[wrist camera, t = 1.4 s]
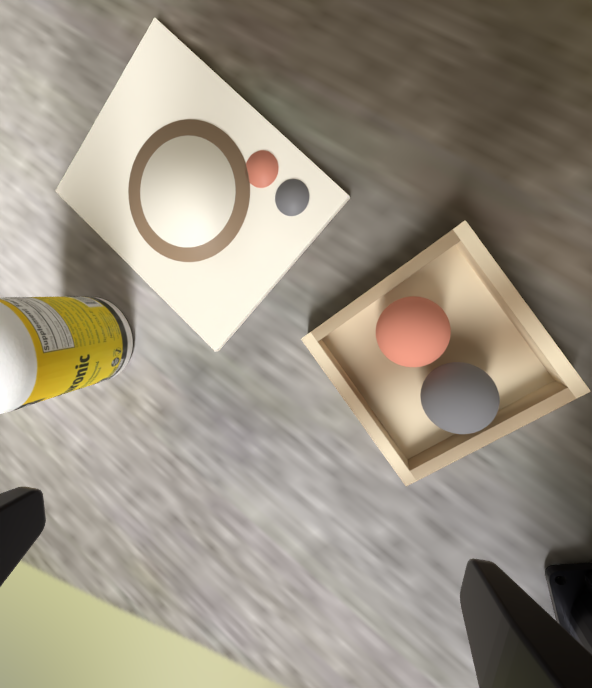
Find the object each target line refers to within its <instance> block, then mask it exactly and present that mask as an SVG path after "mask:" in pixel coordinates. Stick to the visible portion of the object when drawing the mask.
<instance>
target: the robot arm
mask: <svg viewBox="0 0 592 688" xmlns="http://www.w3.org/2000/svg"><path fill="white" fill-rule="evenodd" d="M45 522H46V517H45V508H44V499H43V493H42V492H41V490H39V489H36V488H30V487H18V488H15V489H12V490H9V491H6V492H4V493H1V494H0V586H1V585H2V584H3V582H4V581H5V580H6V579H7V577H8V576H9V575H10V573H11V572H12V571H13V569H14V568H15V567H16V565H17V564H18V563H19V562H20V560H21V559H22V558H23V556H24V555H25V554H26V552H27V551H28V550H29V548H30V547H31V546H32V544H33V543H34V542H35V541H36V539H37V538H38V537H39V535H40V534H41V532H42V531H43V529H44V526H45ZM545 576H546V580H547V584H548V588H549V592H550V596H551V600H552V604H553V608H554V612H555V616H556V620H557V621H556V620H554V619H553V618H552V617H551V616H550V615H549V614H548V613H547V612H546V611H545V610H544V609H543V608H542V607H541V606H540V605H539V604H537V603H536V602H535V601H534V600H533V599H532V598H531V597H530V596H529V595H528V594H527V593H526V592H525V591H524V590H523V589H521V588H520V587H519V586H518V585H517V584H516V583H515V582H514V581H513V580H512V579H511V578H510V577H509V576H508V575H507V574H505V573H504V572H503V571H502V570H501V569H500V568H499V567H498V566H497V565H496V564H494V563H493V562H490V561H486V560H480V559H470V560H469V561H468V563H467V566H466V570H465V574H464V578H463V582H462V587H461V591H460V603H461V609H462V613H463V617H464V622H465V626H466V631H467V635H468V640H469V644H470V648H471V653H472V657H473V662H474V666H475V671H476V675H477V679H478V684H479V688H592V563H577V564H562V565H552V566H549V567H548V568H547V569H546V571H545ZM557 576H562V577H561V578H558V579H556V577H557Z"/></svg>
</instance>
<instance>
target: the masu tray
mask: <svg viewBox="0 0 592 688" xmlns="http://www.w3.org/2000/svg"><path fill="white" fill-rule="evenodd" d="M411 296H418V297H423V298H426V299H429V300H431V301H433V302H435V303H436V304H437V305H439V306H440V307H441V308H442V309H443V310H444V312H445V313H446V315H447V317H448V319H449V322H450V327H451V335H450V340H449V344H448V346H447V348H446V350H445V351H444V352H443V354H442V355H441V356H440V357H439V358H438V359H436V360H435V361H434V362H432V363H430V364H428V365H425V366H421V367H405V366H401V365H398V364H396V363H394V362H392V361H391V360H389V359H388V358H387V357H386V356H385V355H384V354H383V353H382V351H381V350H380V348H379V346H378V343H377V340H376V325H377V321H378V319H379V317H380V315H381V313H382V312H383V311H384V309H385V308H386V307H387V306H388V305H390V304H391V303H393V302H394V301H396V300H398V299H401V298H404V297H411ZM301 340H302V341H303V342H304V344H305V345H306V347H307V348H308V349H309V351H310V352H311V354H312V355H313V356H314V358H315V359H316V361H317V362H318V363H319V365H320V366H321V368H322V369H323V371H324V372H325V373H326V375H327V376H328V378H329V379H330V380H331V382H332V383H333V385H334V386H335V387H336V389H337V390H338V392H339V393H340V394H341V396H342V397H343V399H344V400H345V401H346V403H347V404H348V406H349V407H350V408H351V410H352V411H353V413H354V414H355V415H356V417H357V418H358V420H359V421H360V422H361V424H362V425H363V427H364V428H365V429H366V431H367V432H368V434H369V435H370V436H371V438H372V439H373V441H374V442H375V444H376V445H377V446H378V448H379V449H380V451H381V452H382V453H383V455H384V456H385V458H386V459H387V460H388V462H389V463H390V465H391V466H392V467H393V469H394V470H395V472H396V473H397V474H398V476H399V477H400V479H401V480H402V481H403V483H404V484H405V486H408V485H410V484H412V483H414V482H416V481H418V480H420V479H422V478H424V477H426V476H428V475H429V474H431V473H433V472H435V471H437V470H439V469H441V468H443V467H445V466H447V465H449V464H451V463H453V462H455V461H457V460H459V459H461V458H462V457H464V456H466V455H468V454H470V453H472V452H474V451H476V450H478V449H480V448H482V447H484V446H486V445H488V444H490V443H492V442H494V441H495V440H497V439H499V438H501V437H503V436H505V435H507V434H509V433H511V432H513V431H515V430H517V429H519V428H521V427H523V426H525V425H527V424H529V423H530V422H532V421H534V420H536V419H538V418H540V417H542V416H544V415H546V414H548V413H550V412H552V411H554V410H556V409H558V408H560V407H562V406H563V405H565V404H567V403H569V402H571V401H573V400H575V399H577V398H579V397H581V396H583V395H585V394H587V393H589V392H591V391H590V390H589V388H588V387H587V386H586V384H585V383H584V382H583V380H582V379H581V377H580V376H579V375H578V373H577V372H576V371H575V369H574V368H573V367H572V365H571V364H570V362H569V361H568V360H567V358H566V357H565V356H564V354H563V353H562V352H561V350H560V349H559V347H558V346H557V345H556V343H555V342H554V341H553V339H552V338H551V336H550V335H549V334H548V332H547V331H546V330H545V328H544V327H543V326H542V324H541V323H540V321H539V320H538V319H537V317H536V316H535V315H534V313H533V312H532V311H531V309H530V308H529V306H528V305H527V304H526V302H525V301H524V300H523V298H522V297H521V296H520V294H519V293H518V291H517V290H516V289H515V287H514V286H513V285H512V283H511V282H510V280H509V279H508V278H507V276H506V275H505V274H504V272H503V271H502V270H501V268H500V267H499V265H498V264H497V263H496V261H495V260H494V259H493V257H492V256H491V255H490V253H489V252H488V250H487V249H486V248H485V246H484V245H483V244H482V242H481V241H480V239H479V238H478V237H477V235H476V234H475V233H474V231H473V230H472V229H471V227H470V226H469V224H468V223H467V222H466V220H465V221H464V222H462V223H461V224H459V225H458V226H457V227H455V228H454V229H453V230H451V231H450V232H448V233H447V234H446V235H444V236H443V237H441V238H440V239H439V240H437V241H436V242H435V243H433V244H432V245H430V246H429V247H428V248H426V249H425V250H423V251H422V252H421V253H419V254H418V255H417V256H415V257H414V258H412V259H411V260H410V261H408V262H407V263H405V264H404V265H403V266H401V267H400V268H399V269H397V270H396V271H394V272H393V273H392V274H390V275H389V276H387V277H386V278H385V279H383V280H382V281H381V282H379V283H378V284H376V285H375V286H374V287H372V288H371V289H369V290H368V291H367V292H365V293H364V294H363V295H361V296H360V297H358V298H357V299H356V300H354V301H353V302H351V303H350V304H349V305H347V306H346V307H345V308H343V309H342V310H340V311H339V312H338V313H336V314H335V315H333V316H332V317H331V318H329V319H328V320H327V321H325V322H324V323H322V324H321V325H320V326H318V327H317V328H315V329H314V330H313V331H311V332H310V333H309V334H307V335H306V336H304V337H303V338H302V339H301ZM451 362H464V363H469V364H472V365H474V366H476V367H479V368H480V369H482V370H483V371H485V372H486V373H487V374H488V375H489V376H490V377H491V378H492V380H493V381H494V382H495V384H496V386H497V389H498V392H499V397H500V403H499V409H498V412H497V414H496V416H495V418H494V420H493V421H492V422H491V423H490V424H489V425H488V426H487V427H485V428H484V429H482V430H480V431H478V432H475V433H471V434H455V433H451V432H448V431H445V430H443V429H441V428H439V427H438V426H436V425H435V424H434V423H433V422H432V421H431V420H430V419H429V418H428V417H427V415H426V414H425V412H424V410H423V407H422V404H421V397H420V394H421V388H422V385H423V382H424V380H425V378H426V377H427V376H428V374H429V373H430V372H431V371H433V370H434V369H435V368H437V367H439V366H441V365H443V364H446V363H451Z"/></svg>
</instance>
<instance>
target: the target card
mask: <svg viewBox="0 0 592 688" xmlns="http://www.w3.org/2000/svg"><path fill="white" fill-rule="evenodd" d="M55 191H56V192H57V193H58V194H59V195H60V196H61V197H62V198H63V199H64V200H65V201H66V202H67V203H68V204H69V205H70V206H71V207H72V208H73V209H74V210H75V211H76V212H77V213H78V214H79V215H80V216H81V217H82V218H83V219H84V220H85V221H86V222H87V223H88V224H89V225H90V226H91V227H92V228H93V229H94V230H95V231H96V232H97V233H98V234H99V235H100V236H101V237H102V238H103V239H104V240H105V241H106V242H107V243H108V244H109V245H110V246H111V247H112V248H113V249H114V250H115V251H116V252H117V253H118V254H119V255H120V257H121V258H122V259H123V260H124V261H125V262H126V263H127V264H128V265H129V266H130V267H131V268H132V269H133V270H134V271H135V272H136V273H137V274H138V275H139V276H140V277H141V278H142V279H143V280H144V281H145V282H146V283H147V284H148V285H149V286H150V287H151V288H152V289H153V290H154V291H155V292H156V293H157V294H158V295H159V296H160V297H161V298H162V299H163V300H164V301H165V302H166V303H167V304H168V305H169V306H170V307H171V308H172V309H173V310H174V311H175V312H176V313H177V314H178V315H179V316H180V317H181V318H182V319H183V320H184V321H185V322H186V323H187V324H188V325H189V326H190V327H191V328H192V329H193V330H194V331H195V332H196V333H197V334H198V335H199V336H200V337H201V338H202V339H203V340H204V341H205V342H206V343H207V344H208V345H209V346H210V347H211V348H212V349H213V350H214V351H215V352H217V351H219V350H220V349H221V348H222V347H223V346H224V344H225V343H226V342H227V341H228V340H229V339H230V337H231V336H232V335H233V334H234V333H235V332H236V331H237V329H238V328H239V327H240V326H241V325H242V324H243V322H244V321H245V320H246V319H247V318H248V317H249V315H250V314H251V313H252V312H253V311H254V310H255V308H256V307H257V306H258V305H259V304H260V303H261V301H262V300H263V299H264V298H265V297H266V296H267V294H268V293H269V292H270V291H271V290H272V289H273V287H274V286H275V285H276V284H277V283H278V282H279V280H280V279H281V278H282V277H283V276H284V275H285V273H286V272H287V271H288V270H289V269H290V268H291V266H292V265H293V264H294V263H295V262H296V261H297V260H298V258H299V257H300V256H301V255H302V254H303V253H304V251H305V250H306V249H307V248H308V247H309V246H310V244H311V243H312V242H313V241H314V240H315V239H316V237H317V236H318V235H319V234H320V233H321V232H322V230H323V229H324V228H325V227H326V226H327V225H328V223H329V222H330V221H331V220H332V219H333V218H334V216H335V215H336V214H337V213H338V212H339V211H340V209H341V208H342V207H343V206H344V205H345V204H346V202H347V201H348V200H349V199H350V196H349V195H348V194H347V193H346V192H345V191H344V190H342V189H341V188H340V187H339V186H338V185H337V184H336V183H335V182H334V181H333V180H332V179H330V178H329V177H328V176H327V175H326V174H325V173H324V172H323V171H322V170H321V169H320V168H318V167H317V166H316V165H315V164H314V163H313V162H312V161H311V160H310V159H309V158H308V157H306V156H305V155H304V154H303V153H302V152H301V151H300V150H299V149H298V148H297V147H296V146H294V145H293V144H292V143H291V142H290V141H289V140H288V139H287V138H286V137H285V136H284V135H282V134H281V133H280V132H279V131H278V130H277V129H276V128H275V127H274V126H273V125H272V124H270V123H269V122H268V121H267V120H266V119H265V118H264V117H263V116H262V115H261V114H260V113H258V112H257V111H256V110H255V109H254V108H253V107H252V106H251V105H250V104H249V103H248V102H246V101H245V100H244V99H243V98H242V97H241V96H240V95H239V94H238V93H237V92H236V91H234V90H233V89H232V88H231V87H230V86H229V85H228V84H227V83H226V82H225V81H224V80H222V79H221V78H220V77H219V76H218V75H217V74H216V73H215V72H214V71H213V70H212V69H210V68H209V67H208V66H207V65H206V64H205V63H204V62H203V61H202V60H201V59H200V58H198V57H197V56H196V55H195V54H194V53H193V52H192V51H191V50H190V49H189V48H188V47H186V46H185V45H184V44H183V43H182V42H181V41H180V40H179V39H178V38H177V37H176V36H174V35H173V34H172V33H171V32H170V31H169V30H168V29H167V28H166V27H165V26H164V25H163V24H161V23H160V22H159V21H158V20H157V19H156V18H154V19H153V21H152V23H151V25H150V26H149V28H148V30H147V32H146V33H145V35H144V37H143V39H142V40H141V42H140V44H139V46H138V47H137V49H136V51H135V53H134V54H133V56H132V58H131V60H130V61H129V63H128V65H127V67H126V68H125V70H124V72H123V74H122V75H121V77H120V79H119V81H118V82H117V84H116V86H115V88H114V89H113V91H112V93H111V94H110V96H109V98H108V100H107V101H106V103H105V105H104V107H103V108H102V110H101V112H100V114H99V115H98V117H97V119H96V121H95V122H94V124H93V126H92V128H91V129H90V131H89V133H88V135H87V136H86V138H85V140H84V142H83V143H82V145H81V147H80V149H79V150H78V152H77V154H76V156H75V157H74V159H73V161H72V163H71V164H70V166H69V168H68V170H67V171H66V173H65V175H64V176H63V178H62V180H61V182H60V183H59V185H58V187H57V189H56V190H55Z"/></svg>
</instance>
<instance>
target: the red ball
mask: <svg viewBox="0 0 592 688" xmlns="http://www.w3.org/2000/svg"><path fill="white" fill-rule="evenodd" d="M450 335H451V327H450V322H449V319H448V317H447V315H446V313H445V312H444V310H443V309H442V308H441V307H440V306H439V305H437V304H436V303H435V302H433V301H431V300H429V299H426V298H423V297H418V296H411V297H404V298H401V299H398V300H396V301H394V302H393V303H391V304H390V305H388V306H387V307H386V308H385V309H384V311H383V312H382V313H381V315H380V317H379V319H378V321H377V325H376V340H377V343H378V346H379V348H380V350H381V351H382V353H383V354H384V355H385V356H386V357H387V358H388V359H389V360H391V361H392V362H394V363H396V364H398V365H401V366H405V367H421V366H425V365H428V364H430V363H432V362H434V361H435V360H436V359H438V358H439V357H440V356H441V355H442V354H443V352H444V351H445V350H446V348H447V346H448V344H449V340H450Z"/></svg>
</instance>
